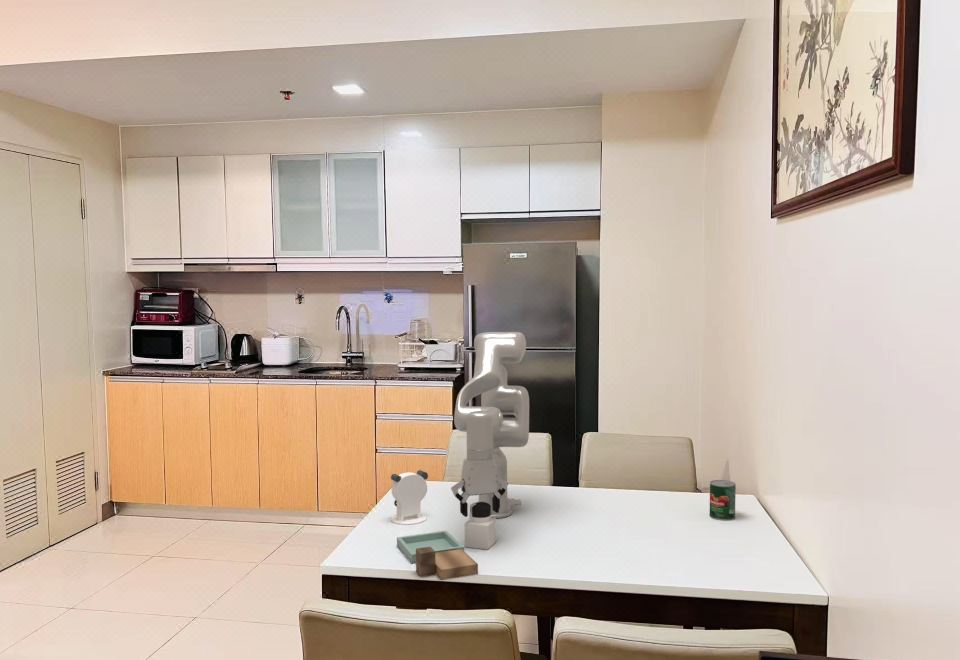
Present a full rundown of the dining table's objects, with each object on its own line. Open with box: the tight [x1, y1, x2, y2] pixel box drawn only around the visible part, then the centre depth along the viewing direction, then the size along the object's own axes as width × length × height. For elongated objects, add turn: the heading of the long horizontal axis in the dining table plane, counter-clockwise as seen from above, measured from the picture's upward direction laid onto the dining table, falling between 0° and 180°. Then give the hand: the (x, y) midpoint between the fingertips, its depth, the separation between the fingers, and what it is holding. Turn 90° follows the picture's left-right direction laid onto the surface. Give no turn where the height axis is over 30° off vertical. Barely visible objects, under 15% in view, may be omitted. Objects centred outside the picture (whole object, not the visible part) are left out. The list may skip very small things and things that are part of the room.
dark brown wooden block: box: [415, 547, 437, 578], centre depth 186 cm, size 4×4×6 cm
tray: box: [396, 530, 465, 565], centre depth 202 cm, size 15×15×2 cm
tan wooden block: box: [435, 549, 479, 581], centre depth 189 cm, size 10×12×3 cm
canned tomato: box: [708, 479, 737, 521], centre depth 230 cm, size 8×8×11 cm
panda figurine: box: [390, 469, 429, 526], centre depth 230 cm, size 12×11×15 cm
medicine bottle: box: [464, 501, 497, 551], centre depth 206 cm, size 7×7×12 cm
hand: (480, 513), depth 206 cm, fingers open, 9 cm apart
